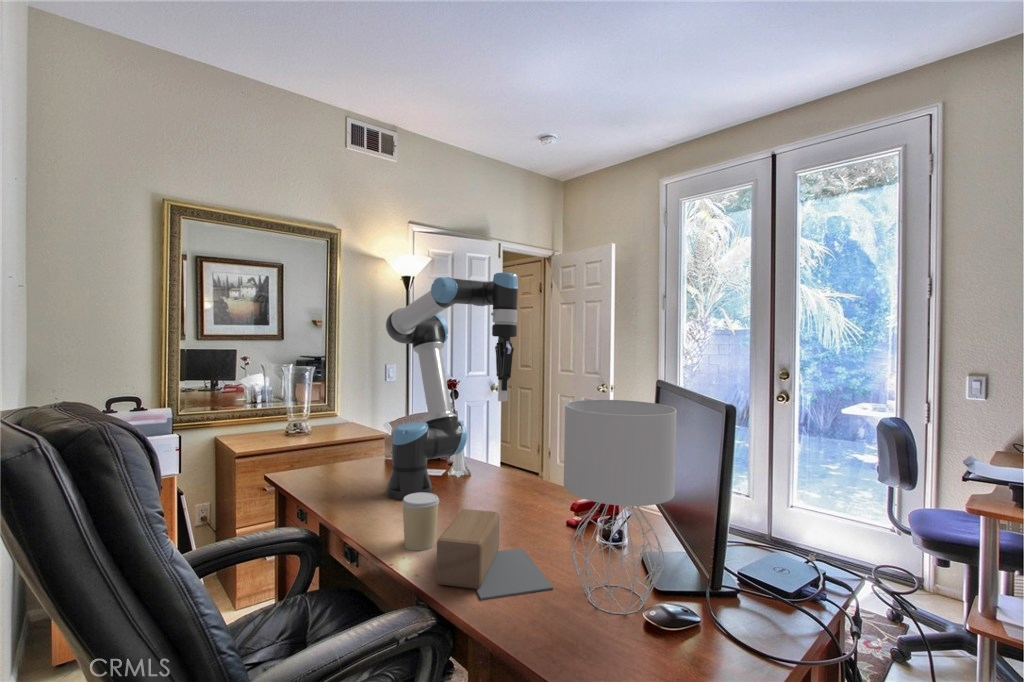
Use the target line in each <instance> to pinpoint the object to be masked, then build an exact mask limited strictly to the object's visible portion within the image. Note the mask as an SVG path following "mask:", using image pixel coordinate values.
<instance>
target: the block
mask: <svg viewBox="0 0 1024 682" xmlns="http://www.w3.org/2000/svg"><path fill="white" fill-rule="evenodd" d="M499 549H500V513H499V512H498V511H492V510H491V511H489V510H482V509H481V510H480V509H479V510H478V509H467V508H466V509H465V508H464V509H461V510H460V512H459V513H458V514H457V515H456V516H455V518H454V519H453V521H452V522H450V524H449V525H448V526H447V527H446V529H445V530H444V531H443V533H442V534H440V536H439V537H438V538H437V541H436V568H435V570H436V572H435V573H436V575H435V576H436V577H435V578H436V579H435V580H436V584H438V585H441V586H443V585H444V586H451V587H460V588H467V589H468V588H469V589H475V590H476V588H479V587H480V586H481V584H482V582H483V580H484V578H485V576H486V574H487V572H488V570H489V568H490V566H491V564H492V562H493V560H494V558H495V556H496V553H497V551H499Z"/></svg>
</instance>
